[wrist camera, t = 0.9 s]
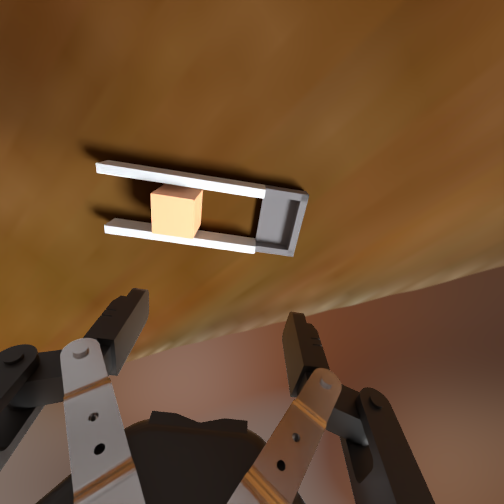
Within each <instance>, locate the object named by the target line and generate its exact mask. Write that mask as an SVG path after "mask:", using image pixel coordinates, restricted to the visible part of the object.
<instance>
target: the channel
mask: <svg viewBox="0 0 504 504" xmlns="http://www.w3.org/2000/svg"><path fill="white" fill-rule="evenodd" d="M96 169H97V173H101V174H108V175H114V176H120V177H127V178H133V179H140V180H146V181H153V182H159V183H166V184H172V185H178V186H185V187H191V188H198V189H204V190H211V191H217V192H224V193H230V194H236V195H243V196H249V197H256V198H262V199H264V197H265V192H266V188H265V185H263V184H257V183H250V182H244V181H238V180H231V179H225V178H219V177H213V176H206V175H200V174H194V173H187V172H181V171H175V170H169V169H162V168H156V167H150V166H143V165H137V164H131V163H124V162H118V161H112V160H106V161H102V162H98V163H96ZM104 228H105V233H109V234H116V235H123V236H130V237H137V238H145V239H152V240H159V241H166V242H173V243H180V244H187V245H195V246H202V247H209V248H216V249H223V250H230V251H237V252H245V253H252V254H254V253H255V247H256V241H255V238H250V237H243V236H236V235H229V234H222V233H216V232H209V231H202V230H197V232H196V234H195V236H194V238H193V239H189V238H182V237H175V236H168V235H161V234H154V233H152V223H146V222H139V221H132V220H125V219H118V218H114V219H113V220H111V221H110V222H108V223H107V224H105V225H104Z"/></svg>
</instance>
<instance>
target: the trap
mask: <svg viewBox="0 0 504 504" xmlns="http://www.w3.org/2000/svg"><path fill="white" fill-rule="evenodd" d="M265 188H266V192H265V197H264V199H262V204H261V210H260V215H259V221H258V227H257V232H256V238H255V241H256V247H255V251H256V252H263V253H270V254H277V255H284V256H292V257H293V254H294V251H295V247H296V243H297V239H298V236H299V232H300V228H301V224H302V220H303V217H304V213H305V209H306V205H307V202H308V198H309V194H308V193H307V192H306V191H301V190H294V189H288V188H282V187H275V186H269V185H265Z"/></svg>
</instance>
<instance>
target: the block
mask: <svg viewBox="0 0 504 504" xmlns="http://www.w3.org/2000/svg"><path fill="white" fill-rule="evenodd" d="M202 194H203V190H201V189H195V188H188V187H182V186H176V185H169V184H164V185H162V186H161V187H159V188H158V189H156V190H155V191H153V192H152V193H151V219H152V233H154V234H161V235H168V236H175V237H182V238H189V239H193V238H194V236H195V234H196V232H197V230H198V228H199V227H200V225H201V210H202Z"/></svg>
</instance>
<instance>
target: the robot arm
mask: <svg viewBox="0 0 504 504" xmlns="http://www.w3.org/2000/svg"><path fill="white" fill-rule="evenodd" d="M148 313H149V292H148V290H145V289H138V288H133V289H132V290H131V291H130V293H129V294H128V295H127V297H126V296H120V297H118V298H117V299H115V300H113V301H112V302H111V303H110V305H109V306H108V307H107V308H106V310H105V311H104V312H103V313H102V315H101V316H100V317H99V318H98V320H97V321H96V322H95V323H94V325H93V326H92V327H91V328H90V330H89V331H88V332H87V333H86V335H85V336H84V337H83V338H82V339H78V340H75V341H73V342H71V343H69V344H68V345H67V346H66V347H64V349H62V350H57V351H49V352H41V353H38V352H37V349H36V348H35V347H34V346H32V345H25V344H24V345H17V346H13V347H10V348H8V349H6V350H4V351H2V352H0V471H1V469H2V468H3V466H4V465H5V463H6V462H7V461H8V459H9V458H10V456H11V454H12V453H13V452H14V450H15V449H16V447H17V446H18V444H19V443H20V441H21V440H22V438H23V437H24V435H25V434H26V432H27V431H28V429H29V428H30V426H31V425H32V423H33V422H34V420H35V419H36V417H37V416H38V414H39V413H40V412H41V410H42V409H43V407H44V406H45V405H47V404H53V403H58V402H62V401H64V410H65V419H66V429H67V438H68V447H69V456H70V466H71V474H70V475H69V476H68V477H66V478H65V479H64V480H63V481H62V482H61V483H59V484H58V485H57V486H56V487H55V488H54V489H52V490H51V491H50V492H49V493H48V494H46V495H45V496H44V497H43V498H42V499H40V500H39V501H38V502H37V503H36V504H305V502H304V501H303V499H302V497H301V496H300V494H299V493H298V489H299V487H300V485H301V482H302V480H303V478H304V475H305V473H306V471H307V469H308V466H309V464H310V462H311V460H312V457H313V455H314V453H315V451H316V449H317V446H318V444H319V442H320V439H321V437H322V435H323V433H324V430H325V429H326V430H328V431H330V432H332V433H334V434H336V435H338V436H340V440H341V444H342V448H343V453H344V457H345V461H346V465H347V470H348V474H349V478H350V482H351V486H352V491H353V495H354V499H355V503H356V504H435V502H434V500H433V498H432V496H431V493H430V491H429V489H428V487H427V484H426V482H425V480H424V478H423V476H422V473H421V471H420V469H419V467H418V465H417V462H416V460H415V458H414V456H413V453H412V451H411V449H410V447H409V445H408V442H407V440H406V438H405V436H404V433H403V431H402V429H401V427H400V424H399V422H398V420H397V418H396V416H395V413H394V411H393V409H392V407H391V405H390V403H389V401H388V400H387V398H386V397H385V396H384V395H383V394H381V393H380V392H379V391H377V390H375V389H373V388H368V387H367V388H363V389H362V390H361V391H360V392H358V391H355V390H353V389H350V388H348V387H346V386H344V385H342V384H341V382H340V380H339V378H338V377H337V376H336V375H335V374H334V373H333V372H332V371H330V369H329V366H328V363H327V360H326V356H325V353H324V350H323V347H322V344H321V341H320V338H319V335H318V332H317V330H316V329H315V328H314V326H313V325H312V324H308V323H306V320H305V316H304V314H303V313H296V312H290V313H289V316H288V319H287V322H286V325H285V328H284V331H283V336H282V342H283V349H284V356H285V363H286V368H287V376H288V383H289V390H290V396H291V397H297V398H296V400H294V401H293V402H292V404H291V405H290V407H289V408H288V410H287V411H286V413H285V415H284V416H283V418H282V420H281V421H280V423H279V424H278V426H277V427H276V429H275V431H274V432H273V434H272V435H271V437H270V439H269V440H268V441H267V443H266V442H265V441H264V440H263V439H262V438H261V437H260V436H259V435H257V434H256V433H254V432H253V431H251V430H248V429H247V421H244V420H234V419H219V420H213V421H208V422H202V423H199V422H196V421H194V420H191V419H189V418H186V417H184V416H181V415H179V414H176V413H168V412H158V411H152V413H151V416H150V419H147V420H143V421H140V422H137V423H135V424H133V425H131V426H129V427H127V428H125V429H124V427H123V424H122V420H121V416H120V413H119V409H118V405H117V402H116V398H115V395H114V391H113V387H112V383H111V380H110V378H108V376H109V375H116V376H117V375H118V374H119V372H120V370H121V368H122V366H123V364H124V362H125V361H126V359H127V357H128V355H129V353H130V351H131V349H132V348H133V346H134V344H135V342H136V340H137V338H138V336H139V334H140V333H141V331H142V329H143V327H144V325H145V323H146V321H147V318H148Z"/></svg>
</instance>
